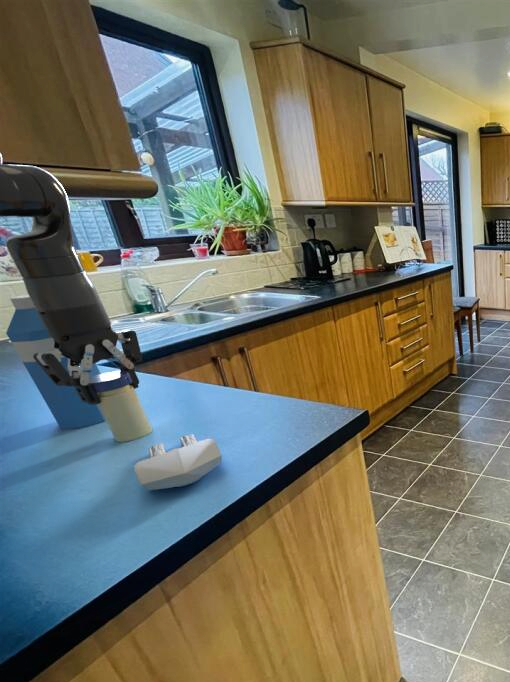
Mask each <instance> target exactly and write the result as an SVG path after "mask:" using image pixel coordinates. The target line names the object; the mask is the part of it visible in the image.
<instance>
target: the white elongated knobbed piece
mask: <svg viewBox="0 0 510 682" xmlns="http://www.w3.org/2000/svg"><path fill="white" fill-rule="evenodd" d="M179 442H180V443H181V445H182V446H181V447H178V448H176V447H175V448H173V449H172V450H170V451H167V450H166V447H165V445H164V444H163V443H157V444H155V445H152V446H150V447H148V453H149V458H146V459H142V460H139V461H137V463H136V464H135V465H134V467H133V470H134V472H135V474H136V477H137V479H138V481H139V483H140V485H141V486H143V487H144V488H145V490H147V491H154V490H162V489H169V488H170V489H171V488H174V487H175V488H176V487H177V488H180V487H185V486H186V487H187V486H188V485H191V484H193V483H196V482H198V481H199V480H201V479H202V477H203V476H205V475H207V474H208V473H209V472H211V471H212V470H214V469H215V468H217V467H218V466H220V465H221V464H222V456H223V455H222V452H221V451H220V449H219V446H218V444H217V441H216V440H215V439H213V438H205V439H202V440H199V441H198V439H197V438H196V436H195V435H194V434H193V433H191V434H190V433H188V434H186V435H183V436H182V437H180V438H179Z"/></svg>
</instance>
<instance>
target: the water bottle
mask: <svg viewBox="0 0 510 682" xmlns="http://www.w3.org/2000/svg"><path fill="white" fill-rule="evenodd" d="M9 300H10V302H11V303H12V306H13V307H14V309H15V310H14V313H13V315H12V317H11V319H10V323H9V325H8V327H7V329H6V333H5V334H6V335H7V337H8V339H9V341H10V343H11V344H12V346H13V348H14V349H15V351H16V353H17V355H18V357H19V358H20V360H21V363H22V364H23V365H24V368H25V369H26V370H27V373H28V374H29V376H30V379H32V381H33V383H34V385H35V386H36V388H37V390H38V392H39V393H40V396H41V397H42V398H43V400H44V402H45V404H46V405H47V407H48V409H49V411H50V413H51V414H52V416H53V418H54V420H55V421H56V424H57V425H58V427H59V429H60V430H71V429H72V430H73V429H76V430H77V429H82V428H86V427H89V426H90V427H91V426H93V425H97V424H100V423H104V422H106V421H105V419H104V417H103V415H102V413H101V411H100V409H99V408H98V406H97V404H96V405H90V404H88V403H84V402H83V401H82V400H81V399H80V397H79V395H78V393H77V391H76V389H75V387H73V386H71V387H69V386H57V385H55V384H54V382H53V381H52V380H51V379H50V378H49V376H48V375H47V374H46V373H45V371H44V370H43V369H42V368H41V367H40V365H39V364H38V363H37V362H36V361H35V359H34V358H33V355H34V354H36V353H44V352H46V351H49V350H51V349H54V339H53V338H52V337H51V336H50V334H49V333H48V331H47V329H46V327H45V325H44V324H43V322H42V320H41V318H40V316H39V314H38V312H37V310H36V308H35V306H34V305H33V303H32V301H31V299H30V297H29V295H28V294H24V295H16V296H10V298H9ZM60 358H61V359H62V361H61V362H60V363H61V365H62V366H63V367H64V368H65V370H66V371H67V372H68V373H70V372H69V370H68V368H67V367H68V358H67V357H65V356H63V355H60ZM79 366H81V364H80V363H79ZM100 374H102V373H101V371H100V368H99V367H98V365H97V363H94V364H92V371H91V372H90V375H89V378H90V377H93V376H96V375H100Z"/></svg>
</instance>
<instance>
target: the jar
mask: <svg viewBox="0 0 510 682" xmlns="http://www.w3.org/2000/svg"><path fill="white" fill-rule="evenodd" d="M97 395H98V397H99V399H100V401H101V403H99V404H97V406H98V408H99V409H100V411H101V413H102V415H103V417H104V419H105V421H104V422H105V423H106V426H107V427H108V429H109V431H110V433H111V434H112V437H113V439H114V440H115V441H116V442H118V443H119V442H120V443H124V442H130V441H134V440H138V439H141V438H143V437H145V436H147V435H149V434H150V433H151V432H153V430H154V429H153V426H152V424H151V422H150V420H149V418H148V415H147V413H146V411H145V408H144V407H143V405H142V403H141V401H140V398H139V396H138V394H137V391H136V389H134V387H133V386H132V385H127V386H124V387H122V388H118V389H115V390H111V391H106V392H98V393H97Z"/></svg>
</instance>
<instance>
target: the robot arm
mask: <svg viewBox="0 0 510 682" xmlns="http://www.w3.org/2000/svg"><path fill="white" fill-rule="evenodd" d="M70 211H71V210H70V203H69V198H68V195H67V193H66V191H65V189H64V187H63V185H62V184H61V183H60V182H59V181H58V179H57V178H56V177H55V176H53V175H52V174H51V173H50V172H48V171H46V170H45V169H42V168H40V167H37V166H33V165H23V164H7V163H6V164H5V163H3V157H2V154H1V153H0V219H7V218H8V219H11V218H14V219H15V218H32V227H31V230H30V231H28V232H27V233H23V234H19V235H15V236H12V237H10V238H7V239H6V241H5V247H6V249H7V252H8V254H9V256H10V257H11V260H12V261H13V264H14V266H15V267H16V270H17V271H18V273H19V275H20V277H21V278H22V282H23V284H24V286H25V290H26V292H27V295H29V297H30V299H31V301H32V303H33V305H34V306H35V308H36V310H37V312H38V314H39V316H40V318H41V320H42V322H43V324H44V325H45V327H46V329H47V331H48V333H49V334H50V336H51V337H52V338H53V339H54V349H51V350H49V351H46V352H44V353H36V354H34V355H33V358H34V359H35V361H36V362H37V363H38V364H39V365H40V367H41V368H42V369H43V370H44V371H45V373H46V374H47V375H48V376H49V378H50V379H51V380H52V381H53V382H54V384H55V385H57V386H69V387H71V386H73V387H75V389H76V391H77V393H78V395H79V397H80V399H81V400H82V401H83V402H84V403H88V404H90V405H96V404H99V403H101V401H100V399H99V397H98V395H97V393H96V391H95V389H94V387H93V385H92V384H89V375H90V372H91V371H92V364H94V363H96V364H97V363H99V362H100V361H103V360H105V361H107V362H110V363H111V364H112V365H113V366H115V367H116V368H117V369H118V370H117V371H128V372H129V374H130V375H131V377H132V380H133V381H132V383H130V384H129V385H132V386H133V387H134V389H135V390H136V389H138V388H139V387H140V386H139V385H140V379H139V378H138V376H137V373H136V371H135V366H136V365H137V364H138V363H142V362H143V360H144V359H143V355H142V351H141V348H140V343H139V339H138V335H137V332H136V331H135V330H129V329H128V330H127V329H120V330H119V331H115V330H114V329H113V327H112V322H111V319H110V318H109V315H108V313H107V311H106V308H105V306H104V305H103V302H102V300H101V298H100V296H99V293H98V291H97V289H96V287H95V285H94V283H93V282H92V280H91V279H90V277H89V275H88V274H87V272H86V270H85V268H84V266H83V264H82V261H81V259H80V257H79V254H78V253H77V250H76V248H75V245H74V239H73V231H72V223H71V212H70ZM118 342H119V343H120V345H121V349H122V351H121V350H120V349H119V348H118V347H117V343H118ZM60 355H63V356H65V357H67V358H68V367H67V368H68V370H69V372H70V373H68V372H67V371H66V370H65V368H64V367H63V366H62V365H61V363H60V362H61V361H62V359H61V358H60ZM79 363H80V364H81V366H79Z"/></svg>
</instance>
